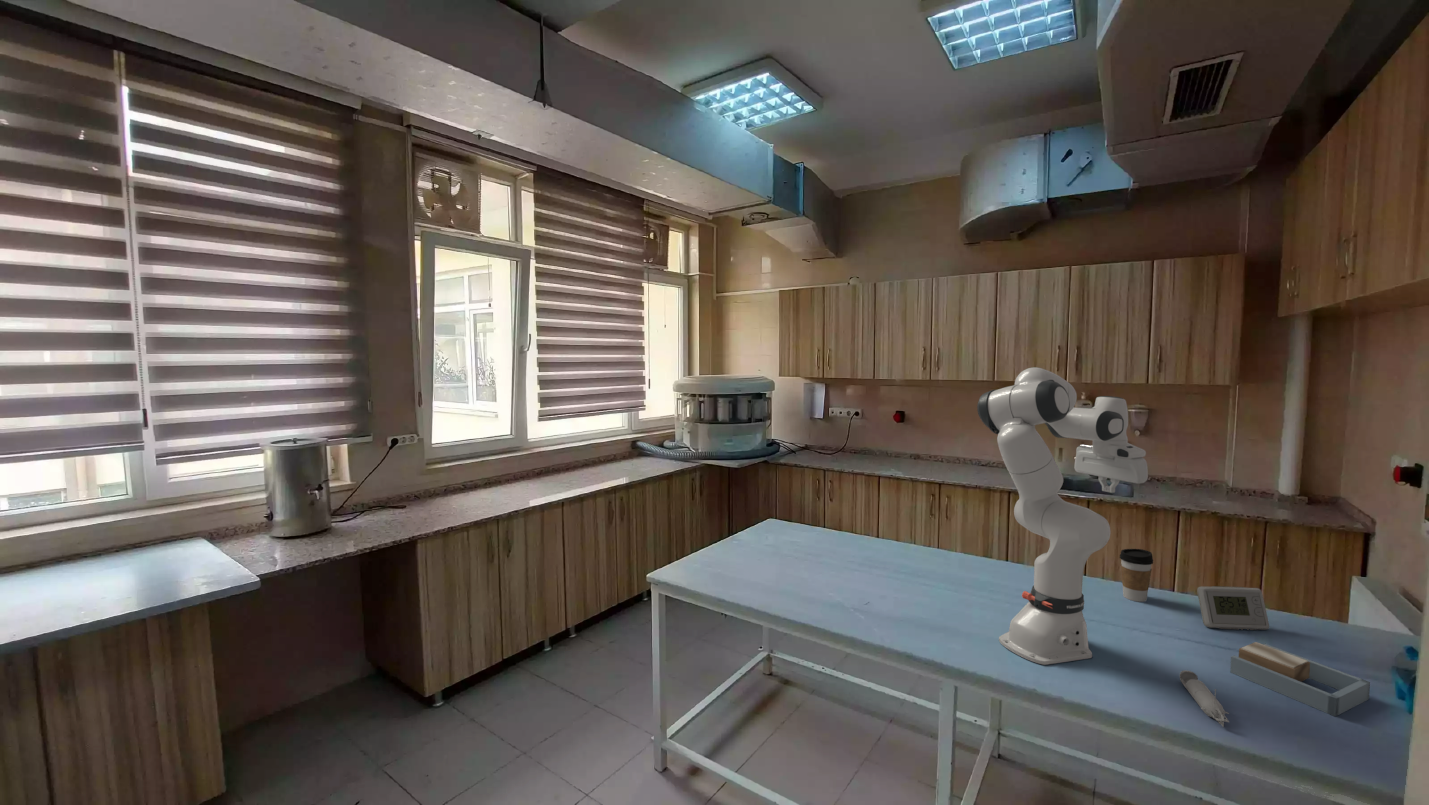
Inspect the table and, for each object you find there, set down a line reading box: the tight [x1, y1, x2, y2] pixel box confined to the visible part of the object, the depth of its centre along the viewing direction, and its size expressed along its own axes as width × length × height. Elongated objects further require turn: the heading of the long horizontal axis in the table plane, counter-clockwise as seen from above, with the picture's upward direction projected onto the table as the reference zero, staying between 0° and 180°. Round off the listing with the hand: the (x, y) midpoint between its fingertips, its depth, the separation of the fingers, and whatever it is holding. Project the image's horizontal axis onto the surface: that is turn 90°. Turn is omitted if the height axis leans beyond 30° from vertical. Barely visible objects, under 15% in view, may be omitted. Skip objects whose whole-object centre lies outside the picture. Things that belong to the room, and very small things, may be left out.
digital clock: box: [1196, 585, 1270, 631], centre depth 155 cm, size 16×9×11 cm, turn 70°
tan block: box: [1238, 641, 1310, 683], centre depth 132 cm, size 7×10×5 cm
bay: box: [1229, 643, 1371, 717], centre depth 128 cm, size 14×18×4 cm
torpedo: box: [1179, 669, 1230, 728], centre depth 122 cm, size 18×5×7 cm, turn 159°
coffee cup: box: [1119, 548, 1154, 603], centre depth 173 cm, size 8×8×15 cm
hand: (1108, 491), depth 172 cm, fingers closed
